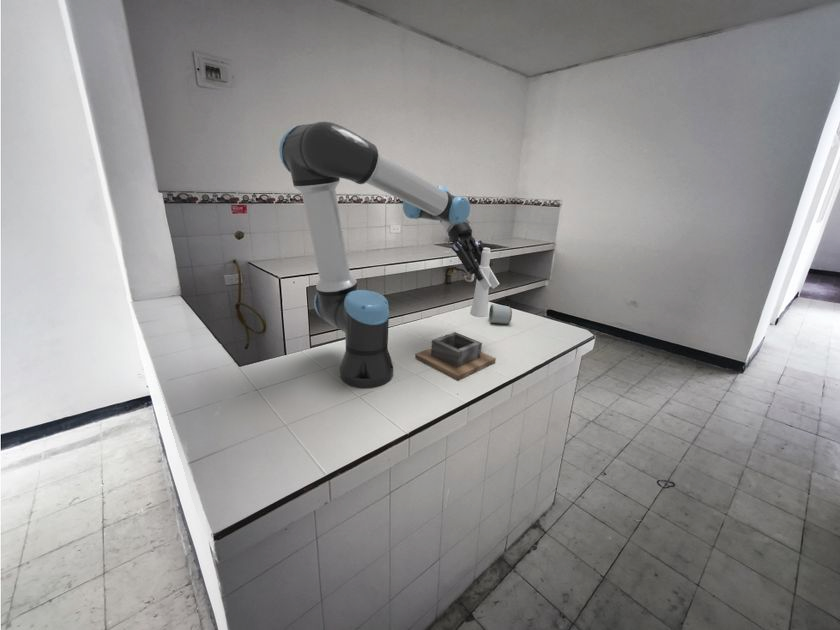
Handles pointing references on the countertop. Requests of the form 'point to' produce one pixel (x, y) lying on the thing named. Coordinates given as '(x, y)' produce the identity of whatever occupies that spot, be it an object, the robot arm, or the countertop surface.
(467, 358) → the bottle holder
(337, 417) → the countertop surface
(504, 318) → the ceramic mug
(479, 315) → the cosmetic bottle
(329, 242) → the robot arm
